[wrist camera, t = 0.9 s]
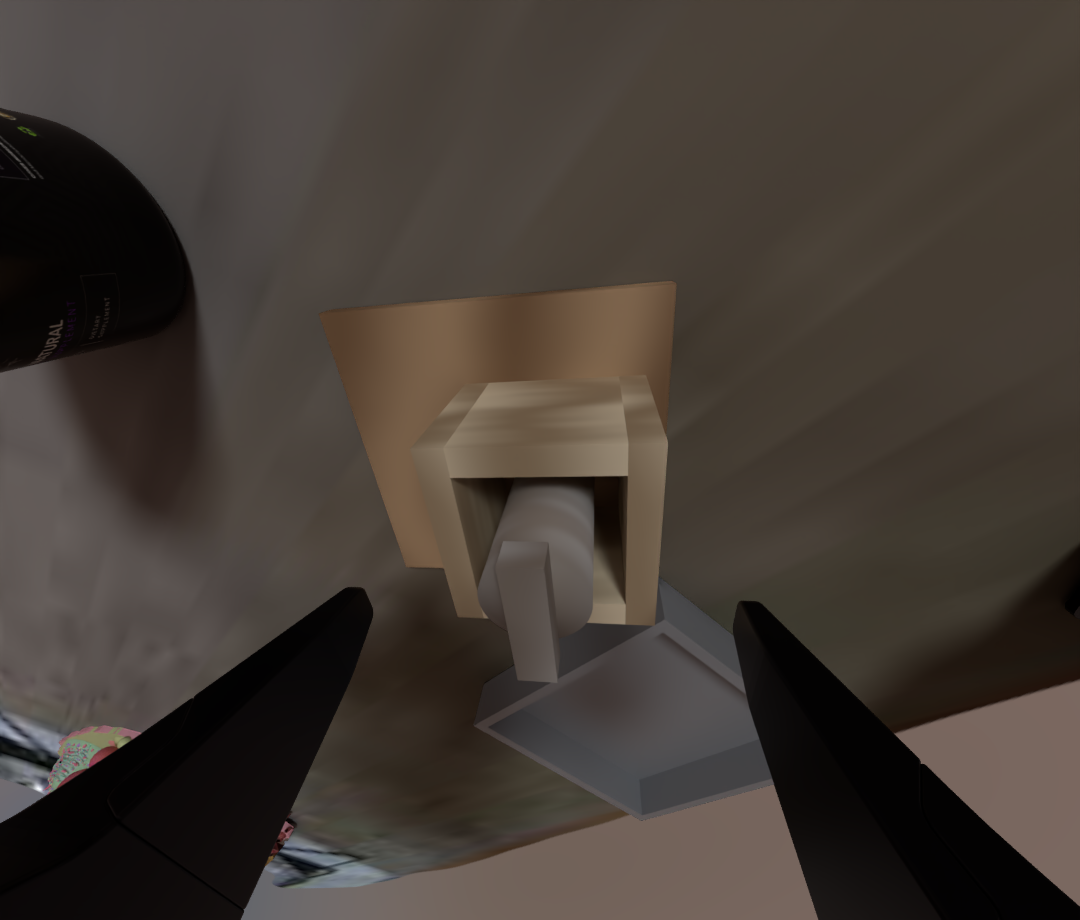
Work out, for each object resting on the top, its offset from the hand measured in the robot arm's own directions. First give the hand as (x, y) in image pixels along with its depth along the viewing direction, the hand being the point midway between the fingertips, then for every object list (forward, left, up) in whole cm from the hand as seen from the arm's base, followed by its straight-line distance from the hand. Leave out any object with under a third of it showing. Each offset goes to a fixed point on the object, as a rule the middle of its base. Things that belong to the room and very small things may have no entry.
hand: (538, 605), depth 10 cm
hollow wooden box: (0, 0, -7) cm, 7 cm away
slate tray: (-4, +17, -8) cm, 19 cm away
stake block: (+2, 0, -8) cm, 8 cm away
